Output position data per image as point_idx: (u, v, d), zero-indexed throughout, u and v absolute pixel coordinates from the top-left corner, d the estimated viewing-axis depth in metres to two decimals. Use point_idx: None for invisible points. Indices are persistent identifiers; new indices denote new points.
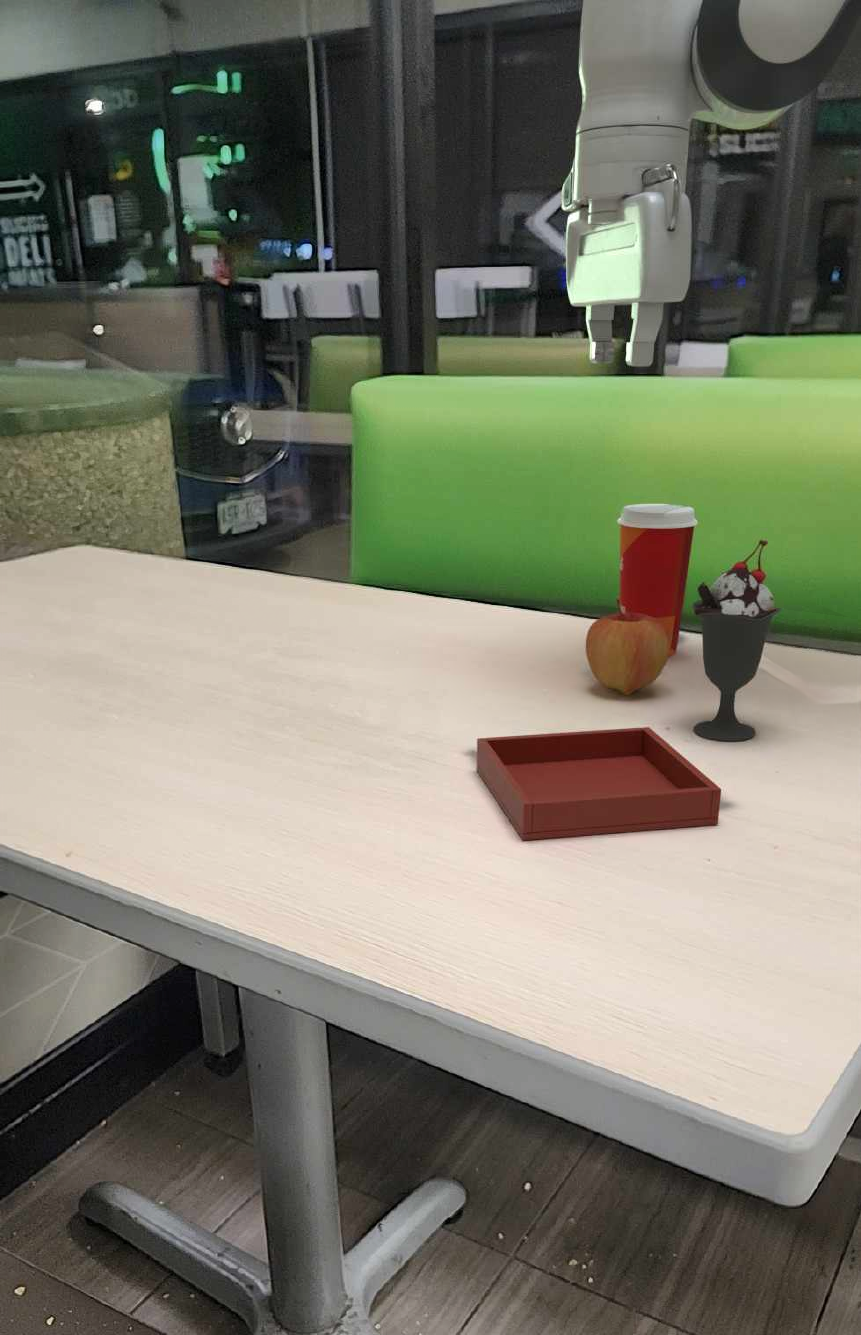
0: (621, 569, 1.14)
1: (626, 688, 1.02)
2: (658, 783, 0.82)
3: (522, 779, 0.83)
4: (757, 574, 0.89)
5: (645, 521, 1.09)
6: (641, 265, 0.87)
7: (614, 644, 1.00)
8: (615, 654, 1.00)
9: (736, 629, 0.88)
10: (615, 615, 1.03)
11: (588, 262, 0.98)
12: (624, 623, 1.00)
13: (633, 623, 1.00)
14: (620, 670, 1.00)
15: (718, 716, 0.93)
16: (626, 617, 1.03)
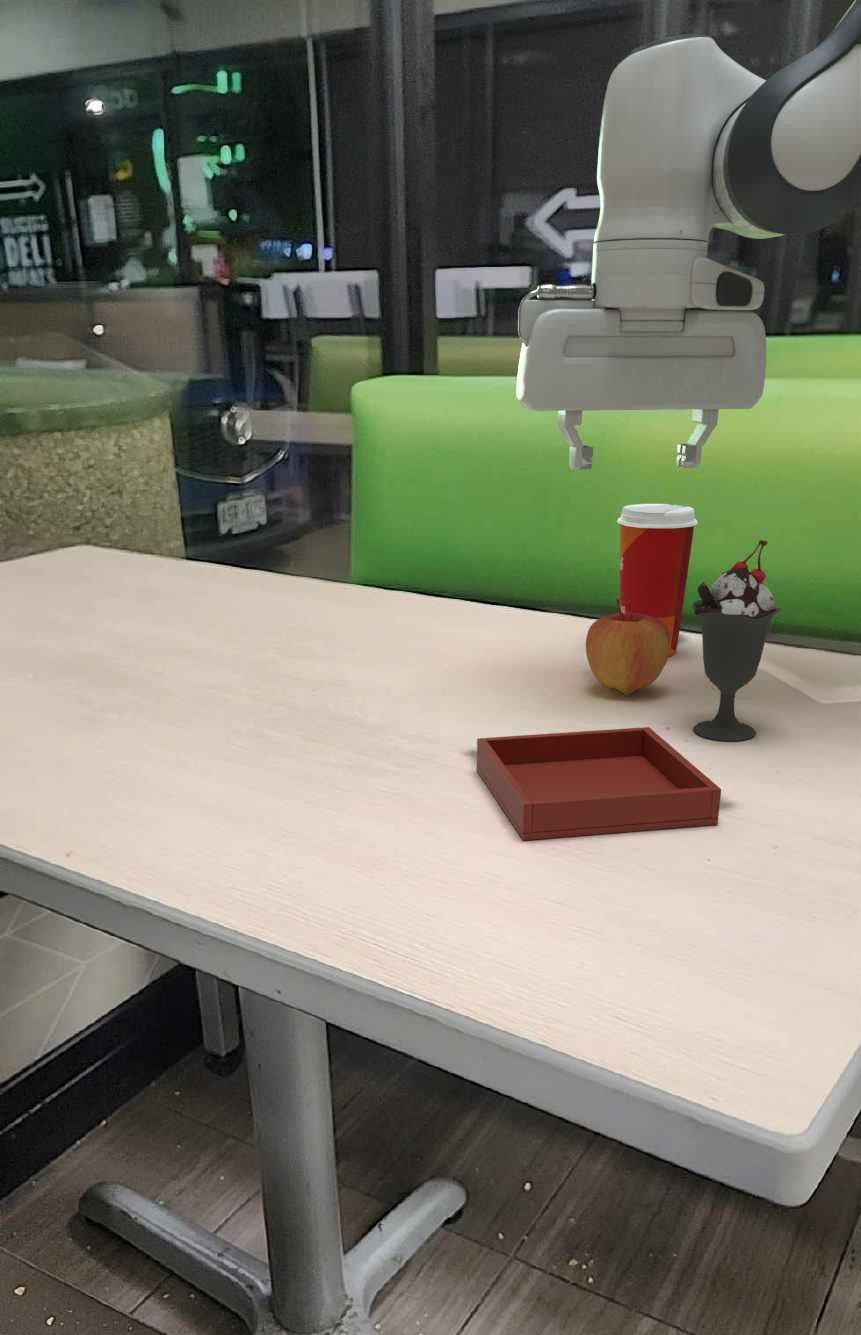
0: (621, 569, 1.14)
1: (626, 688, 1.02)
2: (658, 783, 0.82)
3: (522, 779, 0.83)
4: (757, 574, 0.89)
5: (645, 521, 1.09)
6: None
7: (614, 644, 1.00)
8: (615, 654, 1.00)
9: (736, 628, 0.88)
10: (615, 615, 1.03)
11: None
12: (624, 623, 1.00)
13: (633, 623, 1.00)
14: (620, 670, 1.00)
15: (718, 716, 0.93)
16: (626, 617, 1.03)
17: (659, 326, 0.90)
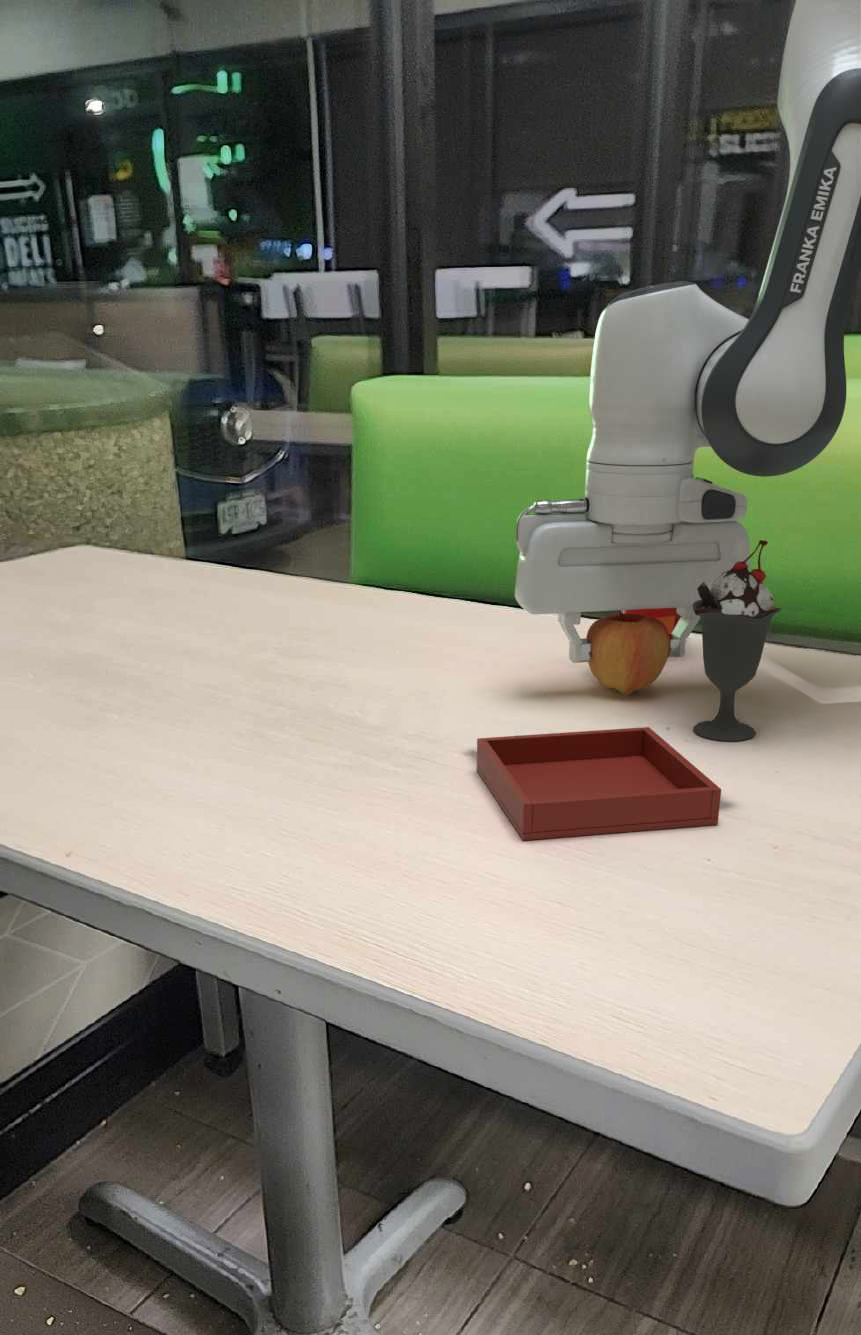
0: None
1: (626, 688, 1.02)
2: (658, 783, 0.82)
3: (522, 779, 0.83)
4: (757, 574, 0.89)
5: None
6: None
7: (614, 644, 0.99)
8: (615, 654, 1.00)
9: (736, 628, 0.88)
10: (615, 615, 1.03)
11: None
12: (624, 623, 1.00)
13: (633, 623, 1.00)
14: (619, 671, 1.00)
15: (718, 716, 0.93)
16: (626, 617, 1.03)
17: (648, 539, 0.96)
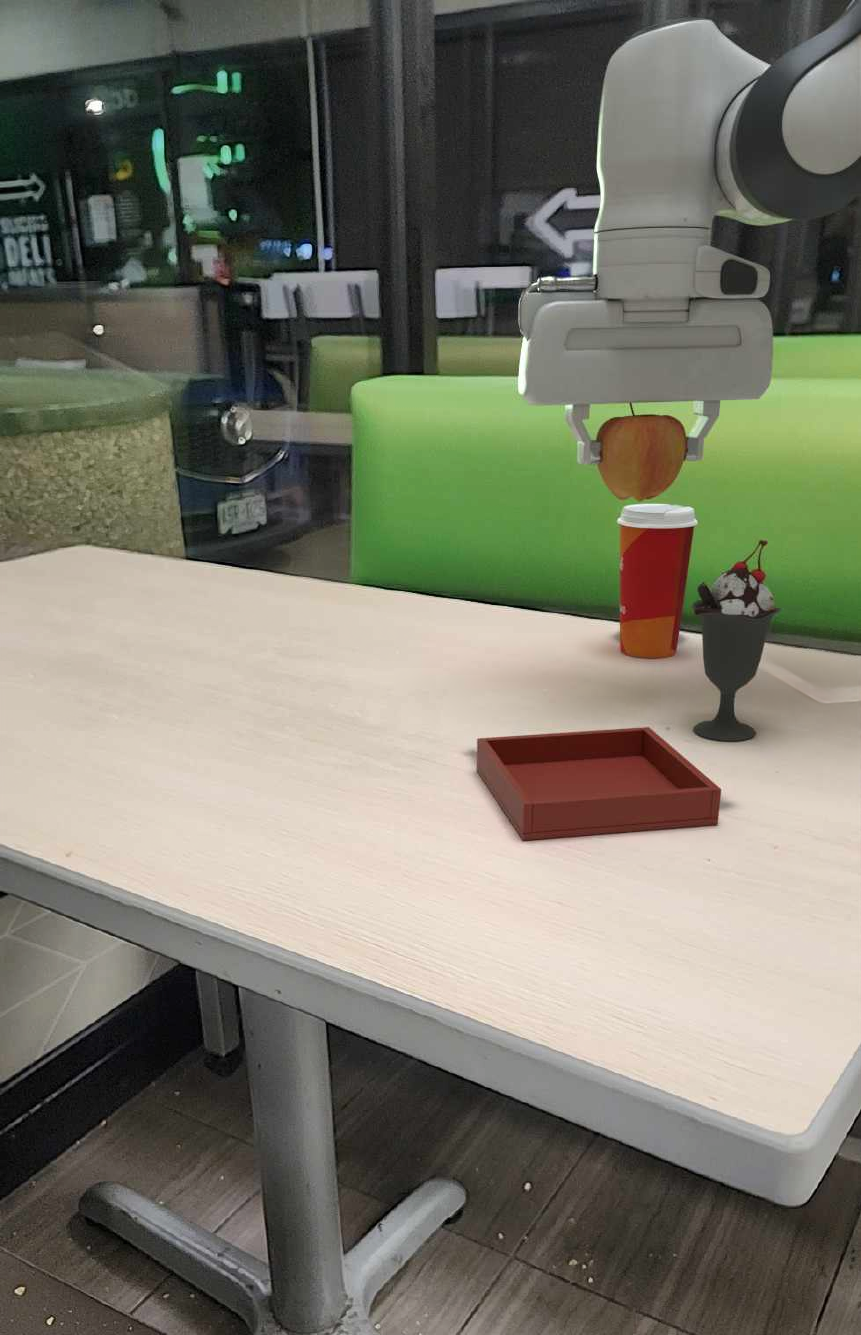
0: (621, 569, 1.14)
1: (639, 491, 0.94)
2: (658, 783, 0.82)
3: (522, 779, 0.83)
4: (757, 574, 0.89)
5: (645, 521, 1.09)
6: None
7: (626, 440, 0.92)
8: (627, 450, 0.92)
9: (736, 628, 0.88)
10: None
11: None
12: (636, 417, 0.92)
13: (646, 417, 0.92)
14: (632, 470, 0.93)
15: (718, 716, 0.93)
16: None
17: (663, 316, 0.88)
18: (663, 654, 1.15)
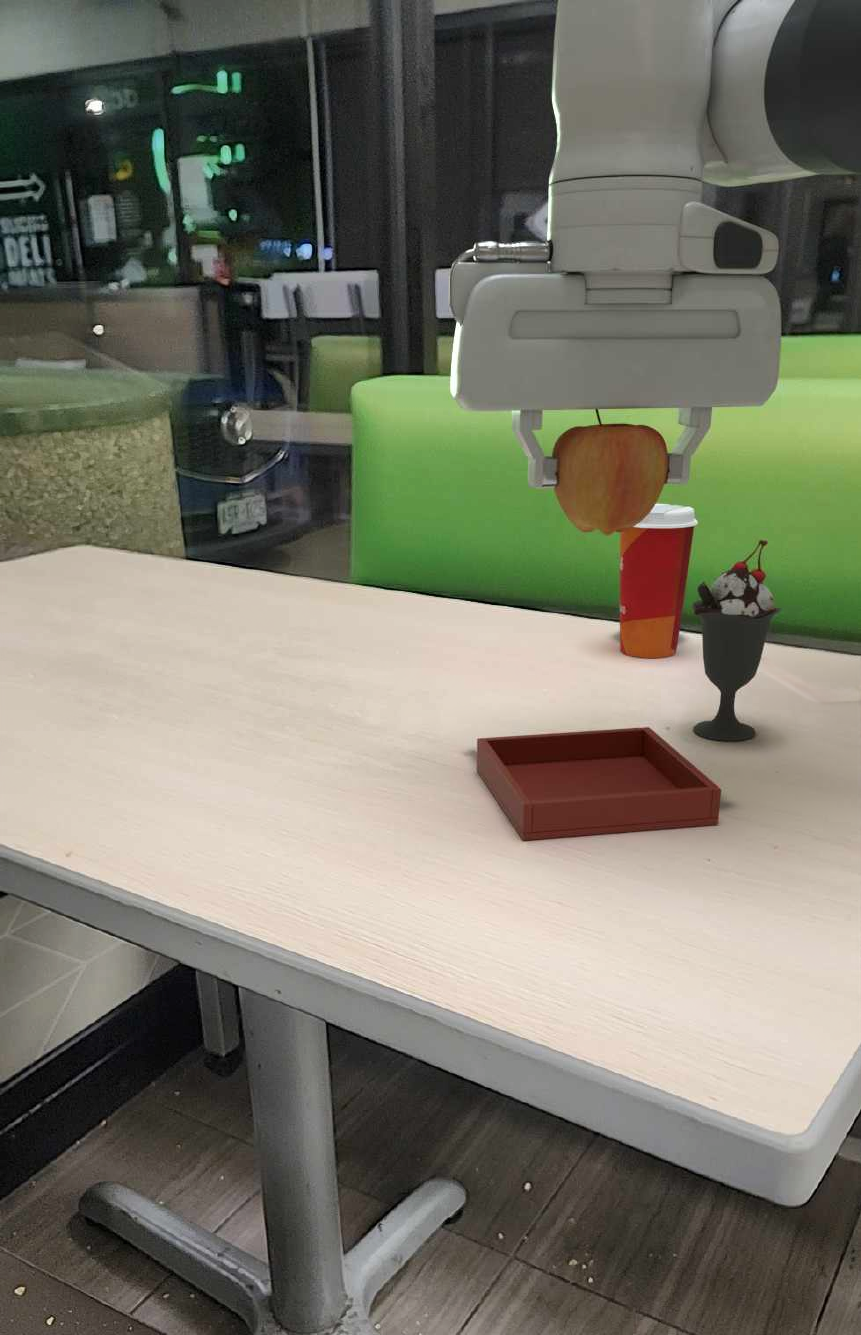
0: (621, 569, 1.14)
1: (607, 523, 0.73)
2: (658, 783, 0.82)
3: (522, 779, 0.83)
4: (757, 574, 0.89)
5: (645, 521, 1.09)
6: None
7: (589, 457, 0.71)
8: (591, 470, 0.71)
9: (736, 628, 0.88)
10: (592, 426, 0.74)
11: None
12: (603, 427, 0.71)
13: (616, 427, 0.71)
14: (597, 496, 0.71)
15: (718, 716, 0.93)
16: None
17: (637, 296, 0.67)
18: (663, 654, 1.15)
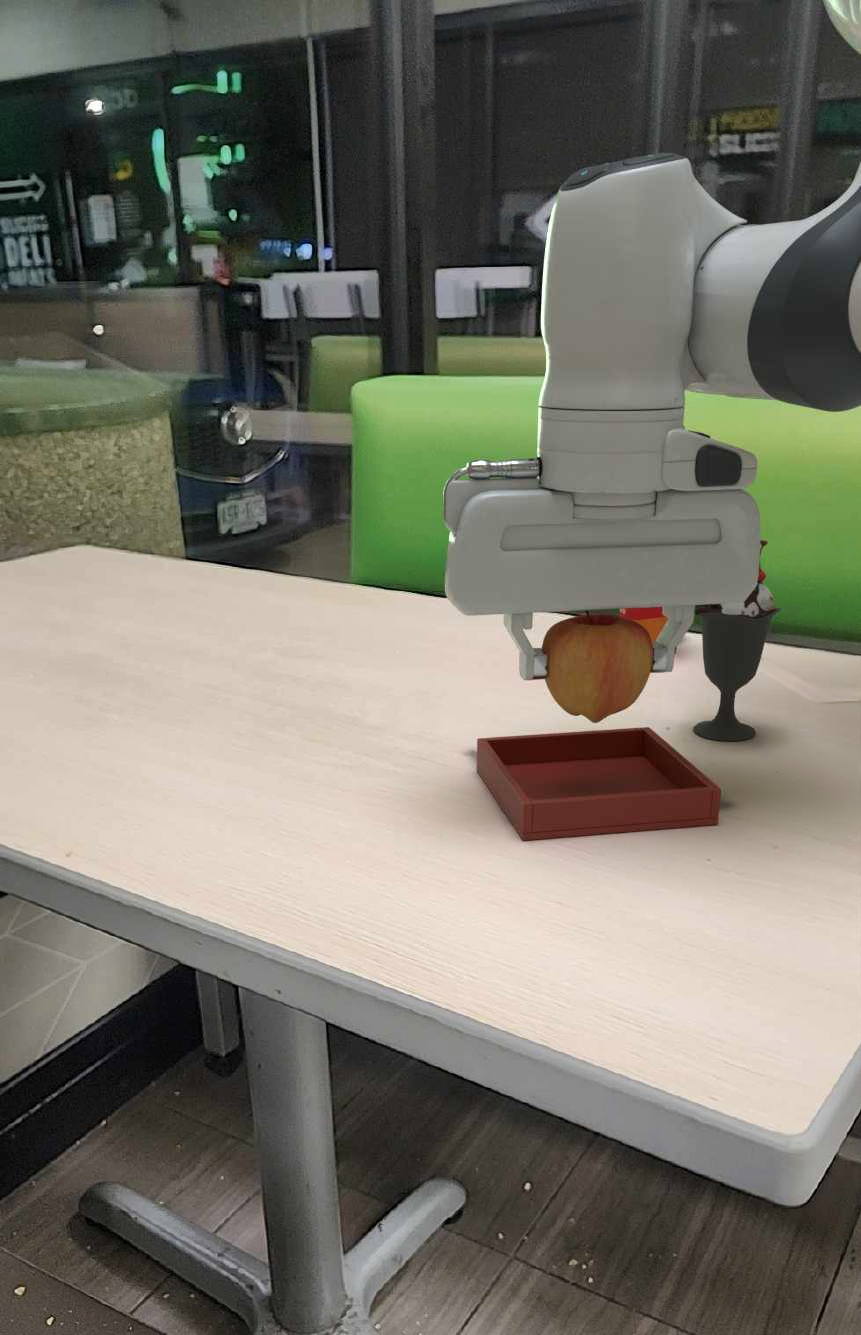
0: None
1: (594, 714, 0.76)
2: (658, 783, 0.82)
3: (522, 779, 0.83)
4: None
5: None
6: None
7: (577, 656, 0.74)
8: (579, 669, 0.74)
9: (736, 628, 0.88)
10: (580, 617, 0.78)
11: None
12: (590, 627, 0.74)
13: (603, 628, 0.74)
14: (585, 691, 0.75)
15: (718, 716, 0.93)
16: (595, 619, 0.78)
17: (623, 513, 0.70)
18: None
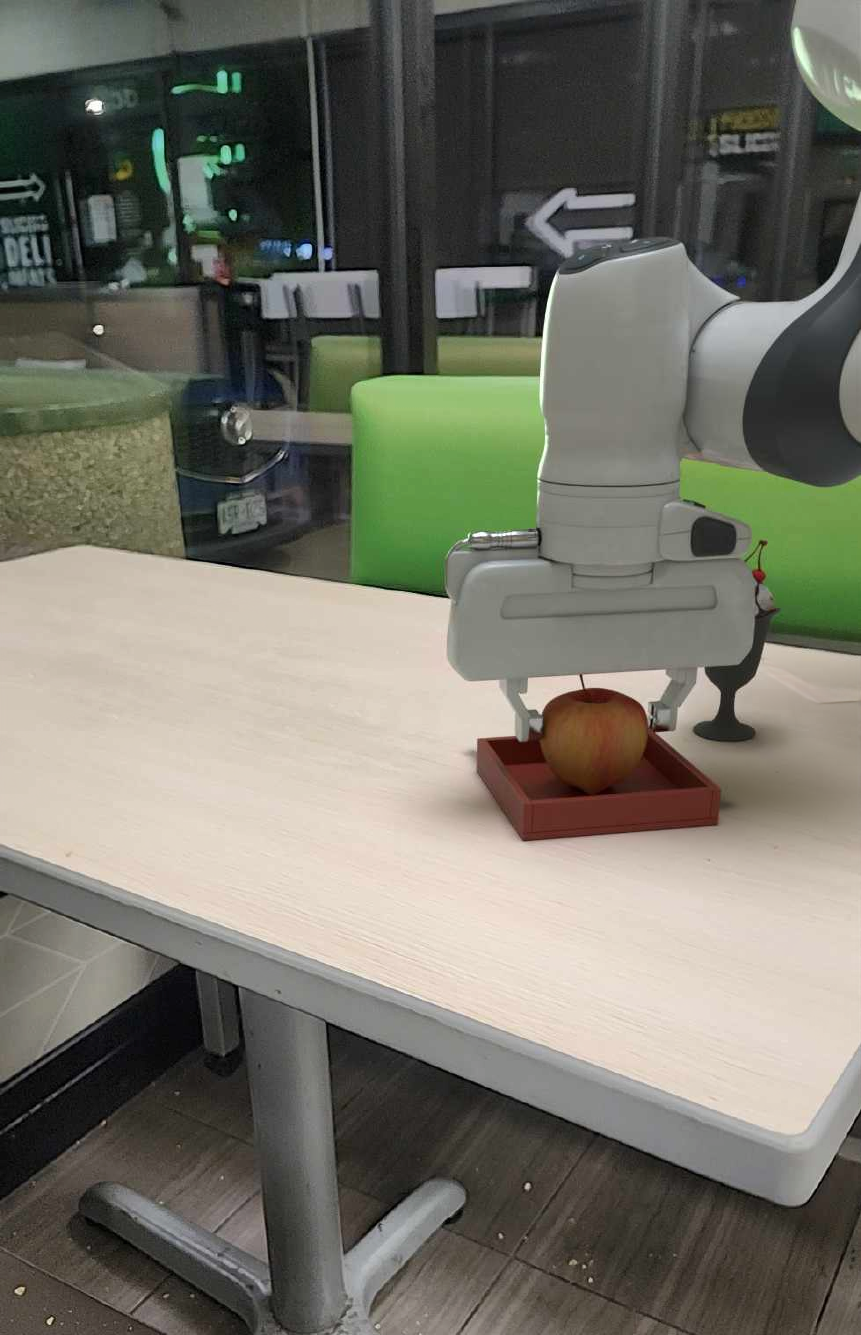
0: None
1: (591, 788, 0.78)
2: (658, 783, 0.82)
3: (522, 779, 0.83)
4: (757, 574, 0.89)
5: None
6: None
7: (574, 734, 0.76)
8: (576, 746, 0.76)
9: None
10: (577, 692, 0.80)
11: None
12: (587, 705, 0.76)
13: (599, 706, 0.76)
14: (582, 767, 0.77)
15: (718, 716, 0.93)
16: (592, 694, 0.80)
17: (620, 583, 0.72)
18: None
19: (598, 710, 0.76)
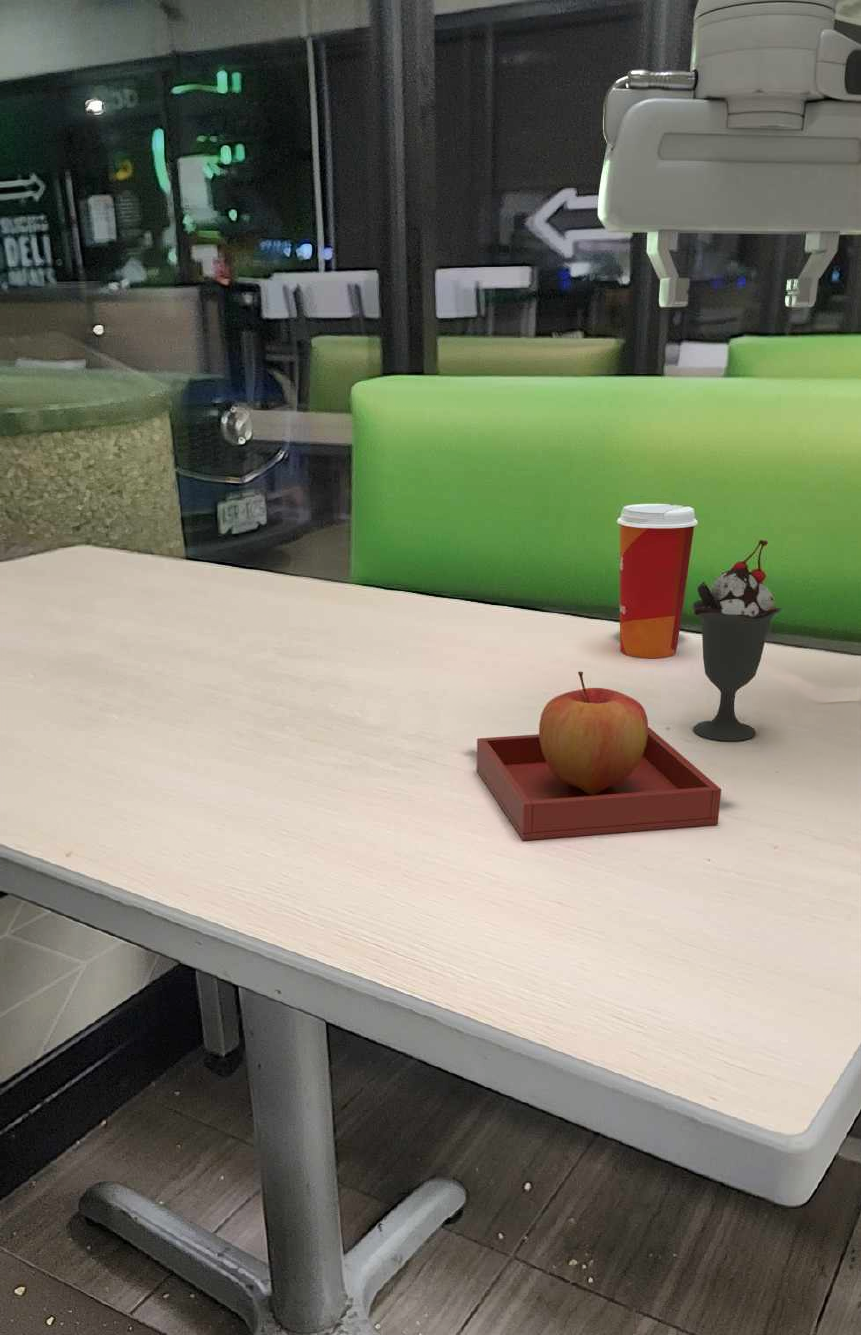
0: (621, 569, 1.14)
1: (591, 788, 0.78)
2: (658, 783, 0.82)
3: (522, 779, 0.83)
4: (757, 574, 0.89)
5: (645, 521, 1.09)
6: None
7: (574, 734, 0.76)
8: (576, 746, 0.76)
9: (736, 628, 0.88)
10: (577, 692, 0.80)
11: None
12: (587, 705, 0.76)
13: (599, 706, 0.76)
14: (582, 767, 0.77)
15: (718, 716, 0.93)
16: (592, 694, 0.80)
17: (775, 119, 0.74)
18: (663, 654, 1.15)
19: (598, 710, 0.76)
